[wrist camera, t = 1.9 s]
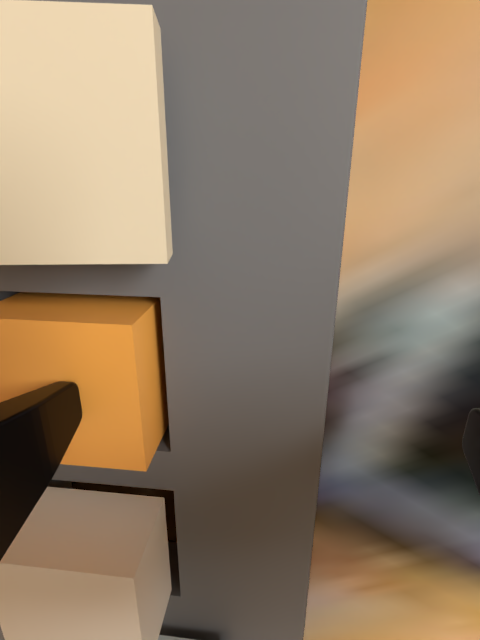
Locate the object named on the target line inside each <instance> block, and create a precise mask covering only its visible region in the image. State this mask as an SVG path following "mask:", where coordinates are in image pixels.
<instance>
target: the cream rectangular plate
mask: <svg viewBox="0 0 480 640" xmlns="http://www.w3.org/2000/svg"><path fill="white" fill-rule="evenodd" d="M172 254H173V249H172V231H171V212H170V194H169V175H168V157H167V138H166V120H165V102H164V83H163V65H162V46H161V28H160V26H159V23H158V20H157V17H156V14H155V12H154V9H153V6H152V5H142V4H114V3H86V2H58V1H29V0H0V265H60V264H168V262H169V260H170V258H171V256H172Z"/></svg>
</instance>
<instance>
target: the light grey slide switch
mask: <svg viewBox="0 0 480 640" xmlns="http://www.w3.org/2000/svg"><path fill="white" fill-rule="evenodd" d="M158 640H195V639H188V638H180V637H172V636H165V635H159V637H158Z"/></svg>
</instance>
